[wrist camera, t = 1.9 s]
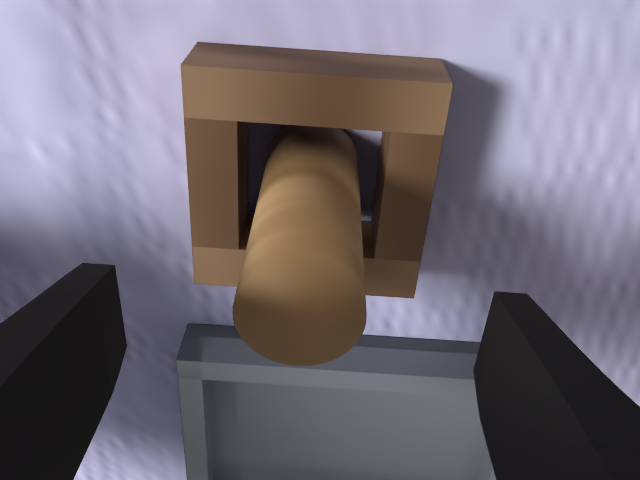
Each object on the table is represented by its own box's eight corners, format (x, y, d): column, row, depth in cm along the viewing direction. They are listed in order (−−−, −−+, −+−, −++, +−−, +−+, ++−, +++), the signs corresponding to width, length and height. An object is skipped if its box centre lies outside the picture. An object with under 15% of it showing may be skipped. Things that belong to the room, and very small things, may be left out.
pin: (267, 197, 18) (233, 361, 13) (269, 115, 17) (231, 257, 11) (353, 202, 18) (359, 369, 13) (361, 121, 17) (373, 266, 11)
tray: (199, 484, 26) (190, 523, 25) (187, 323, 21) (176, 360, 20) (479, 502, 26) (487, 542, 25) (531, 346, 21) (546, 384, 20)
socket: (207, 245, 19) (194, 283, 18) (197, 41, 16) (180, 65, 14) (407, 259, 20) (413, 298, 18) (441, 58, 16) (453, 84, 14)
